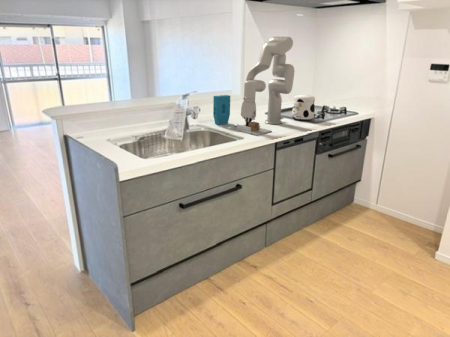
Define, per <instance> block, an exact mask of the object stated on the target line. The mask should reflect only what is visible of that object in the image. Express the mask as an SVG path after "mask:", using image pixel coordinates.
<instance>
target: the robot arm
mask: <svg viewBox="0 0 450 337" xmlns="http://www.w3.org/2000/svg"><path fill="white" fill-rule="evenodd" d="M293 45H294V41H293V38H292V37H291V36H272V37H270V38H269V39H268V42H266V43H264V44H263V46H262V49H261V51H260V55H259V57H258V61H257V63H256V65H254V66H252V68H251V69H250V70H249V72H248V73H247V75H246V78H245V82H244V84H243V85H244V86H243V87H244V88H243V89H244V90H243V98H242V100H243V101H242V104H241V108H240V116H241V117H242V119H244V122H245V125H246V126H247V127H248V126H249V122H253V121H255V120H256V116H257V102H256V92H258V93H261V92H263V91H265V90H266V89H267V87H268V89H267V90H268V105H267V107H268V108H267V119H265V120H264V121H265V124H269V125H281V124H282V123H283V121H282V120H283V119H284V116H282V114H281V112H282V102H283V98H282V94H283V95H288V94H290V93H292V89H293V87H294V86H293V85H294V78H295V67H294V65H293V64H291V63H286V60H287V55H286V53H287V52H289V51H290V50H291V49H292V47H293ZM272 60H273V61H272ZM272 62H273V64H272ZM271 64H272V71H271V72H272V73H271V74H272V76H273V77H275V79H271V80H269V82H268V86H267V85H266V82H265V81H263V80H260V79H255V78H256V76H257V75H258V74H260V73H262V72H264V71H267V70H269V69H270V67H271ZM278 78H284V79H278Z"/></svg>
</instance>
